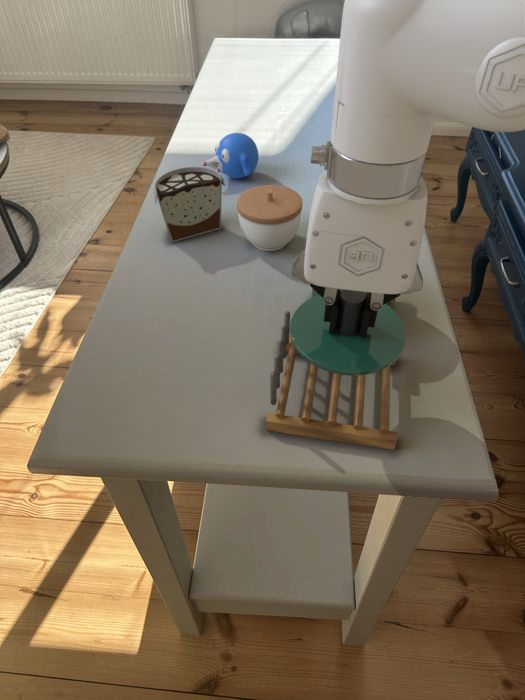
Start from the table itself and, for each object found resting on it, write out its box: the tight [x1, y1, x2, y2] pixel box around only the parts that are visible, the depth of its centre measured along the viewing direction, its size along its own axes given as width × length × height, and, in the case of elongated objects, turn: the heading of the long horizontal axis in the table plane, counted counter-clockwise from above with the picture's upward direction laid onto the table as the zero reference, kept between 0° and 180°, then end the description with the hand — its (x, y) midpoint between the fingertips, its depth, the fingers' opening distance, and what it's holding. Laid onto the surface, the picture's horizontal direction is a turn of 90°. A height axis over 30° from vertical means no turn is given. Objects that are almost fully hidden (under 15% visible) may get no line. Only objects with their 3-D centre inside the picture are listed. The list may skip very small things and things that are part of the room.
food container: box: [153, 166, 226, 243], centre depth 84 cm, size 12×6×10 cm, turn 116°
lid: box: [289, 289, 407, 377], centre depth 51 cm, size 13×13×6 cm
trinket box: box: [236, 184, 303, 252], centre depth 81 cm, size 11×11×9 cm
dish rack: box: [265, 310, 398, 450], centre depth 58 cm, size 15×14×8 cm
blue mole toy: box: [201, 132, 259, 179], centre depth 97 cm, size 12×12×8 cm
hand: (348, 325), depth 52 cm, fingers closed on lid, 2 cm apart
